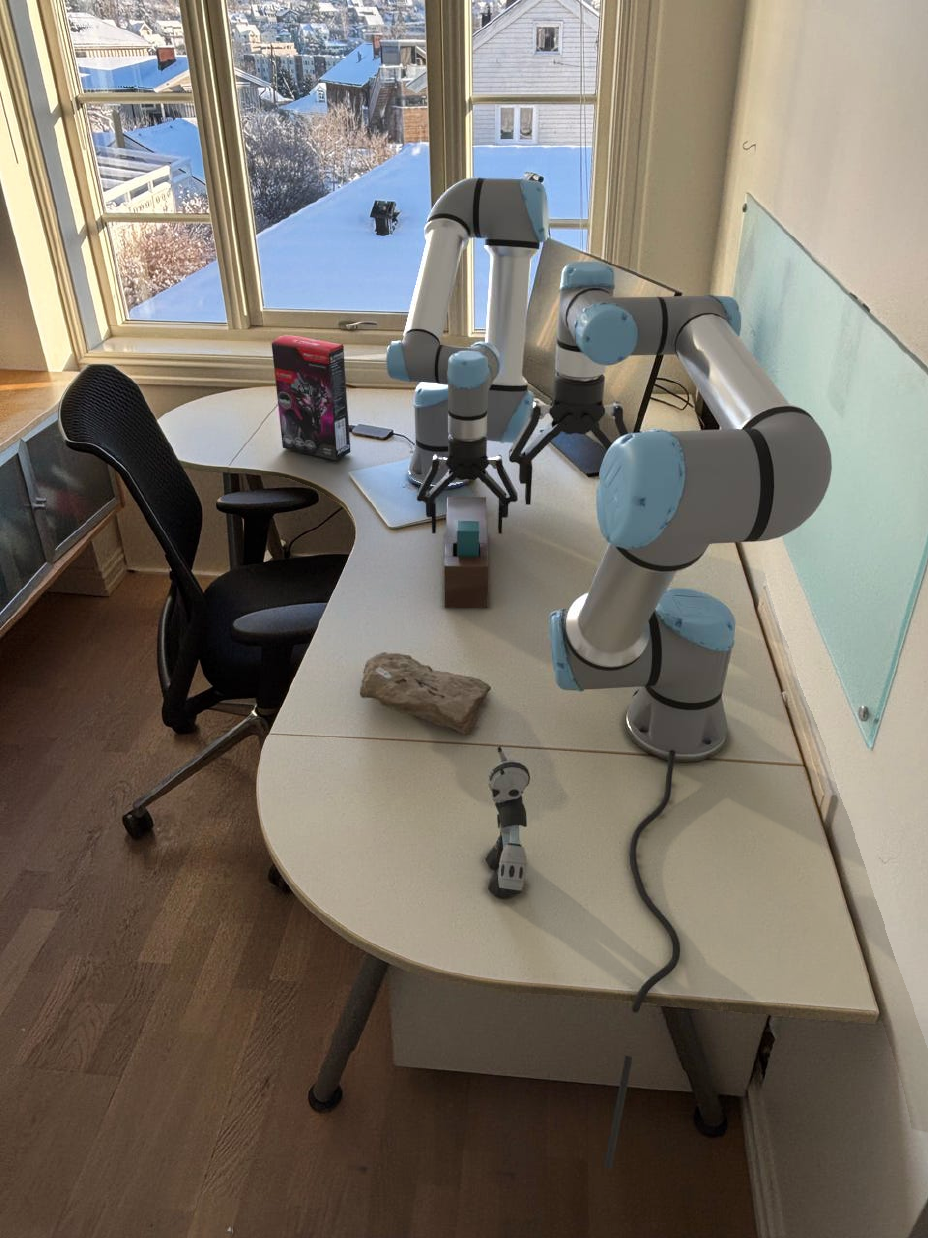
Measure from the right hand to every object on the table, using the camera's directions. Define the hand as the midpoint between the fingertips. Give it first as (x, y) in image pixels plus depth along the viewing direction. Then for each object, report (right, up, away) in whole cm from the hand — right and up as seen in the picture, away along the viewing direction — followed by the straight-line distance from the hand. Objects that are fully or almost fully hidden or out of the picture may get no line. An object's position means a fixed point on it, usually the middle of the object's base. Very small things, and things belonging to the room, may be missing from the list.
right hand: (569, 501), depth 149 cm
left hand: (-16, -1, +41) cm, 44 cm away
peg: (-16, -14, +27) cm, 35 cm away
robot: (-12, -52, -30) cm, 61 cm away
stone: (-24, -33, -1) cm, 41 cm away
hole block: (-17, -9, +34) cm, 39 cm away
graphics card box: (-54, +23, +81) cm, 100 cm away
